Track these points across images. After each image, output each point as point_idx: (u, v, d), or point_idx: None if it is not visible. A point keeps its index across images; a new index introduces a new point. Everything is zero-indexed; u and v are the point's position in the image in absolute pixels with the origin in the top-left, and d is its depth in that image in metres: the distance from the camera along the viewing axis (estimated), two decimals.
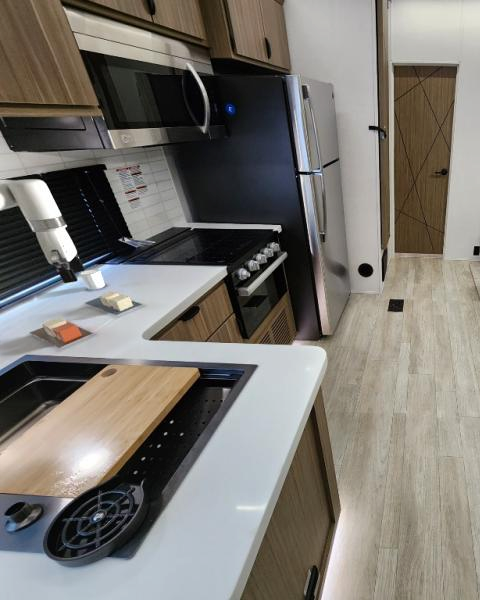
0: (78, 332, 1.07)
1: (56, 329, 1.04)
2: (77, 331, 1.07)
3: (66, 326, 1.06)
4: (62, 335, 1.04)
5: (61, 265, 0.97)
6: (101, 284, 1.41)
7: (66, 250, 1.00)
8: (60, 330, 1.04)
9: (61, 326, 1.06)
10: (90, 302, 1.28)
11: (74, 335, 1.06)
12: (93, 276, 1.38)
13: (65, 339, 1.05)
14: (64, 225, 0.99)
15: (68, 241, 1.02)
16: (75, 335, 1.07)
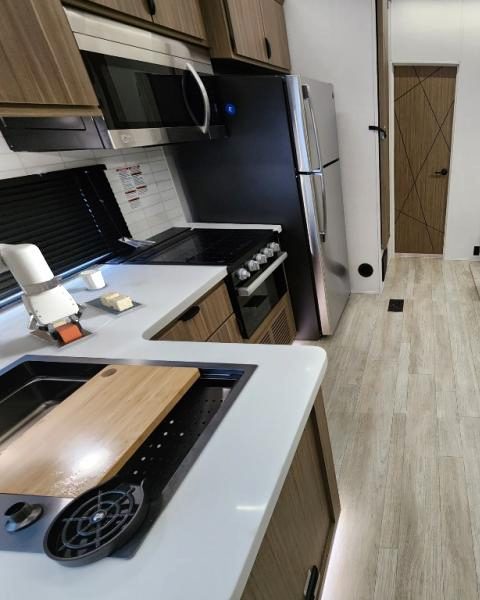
0: (78, 332, 1.07)
1: (56, 329, 1.04)
2: (77, 331, 1.07)
3: (66, 326, 1.06)
4: (62, 335, 1.04)
5: (39, 328, 1.00)
6: (101, 284, 1.41)
7: (40, 315, 0.98)
8: (60, 330, 1.04)
9: (61, 326, 1.06)
10: (90, 302, 1.28)
11: (74, 335, 1.06)
12: (93, 276, 1.38)
13: (65, 339, 1.05)
14: (44, 291, 0.97)
15: (54, 304, 1.00)
16: (75, 335, 1.07)
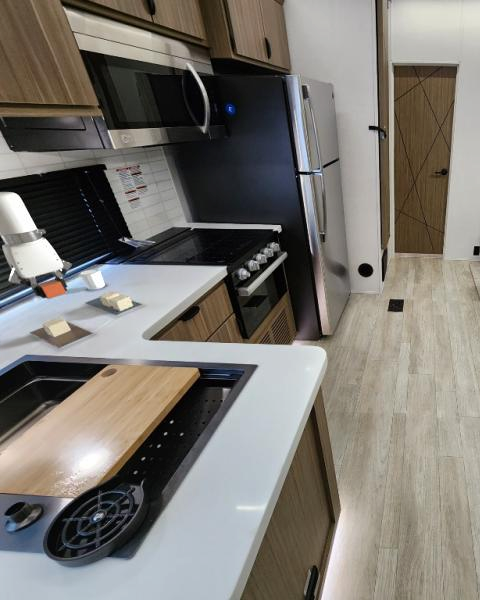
0: (62, 289, 1.04)
1: (39, 285, 1.01)
2: (61, 288, 1.03)
3: (50, 282, 1.02)
4: (45, 291, 1.00)
5: (21, 282, 0.96)
6: (101, 284, 1.41)
7: (22, 267, 0.95)
8: (43, 286, 1.00)
9: (45, 282, 1.02)
10: (90, 302, 1.28)
11: (58, 292, 1.03)
12: (93, 276, 1.38)
13: (48, 296, 1.01)
14: (25, 242, 0.93)
15: (37, 257, 0.97)
16: (59, 292, 1.03)
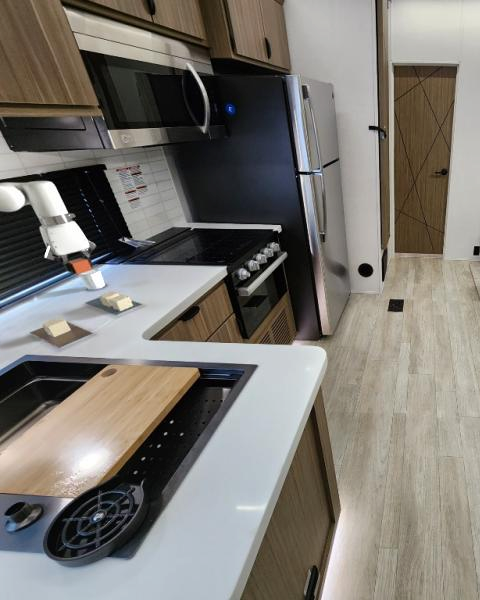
0: (89, 266, 1.20)
1: None
2: (88, 265, 1.19)
3: (78, 260, 1.18)
4: (75, 267, 1.16)
5: (54, 258, 1.12)
6: (101, 284, 1.41)
7: (56, 245, 1.11)
8: (73, 262, 1.16)
9: (74, 260, 1.18)
10: (90, 302, 1.28)
11: (85, 269, 1.19)
12: (93, 276, 1.38)
13: (77, 271, 1.17)
14: (59, 224, 1.09)
15: (68, 237, 1.13)
16: (86, 269, 1.19)
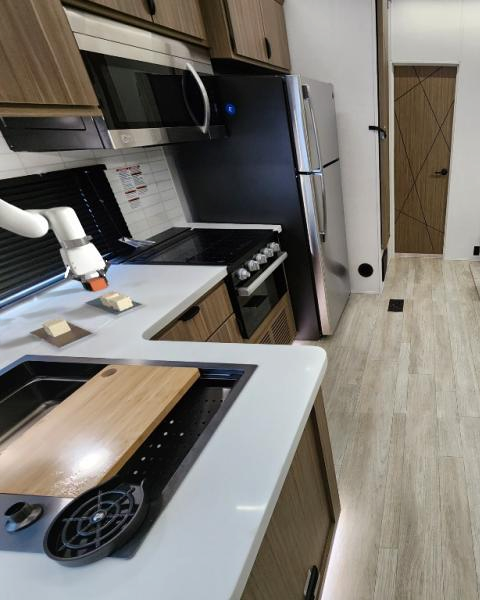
0: (105, 284, 1.28)
1: (87, 281, 1.25)
2: (104, 283, 1.27)
3: (95, 279, 1.26)
4: (92, 285, 1.24)
5: (74, 278, 1.20)
6: None
7: (75, 266, 1.19)
8: (90, 281, 1.24)
9: (91, 279, 1.26)
10: (90, 302, 1.28)
11: (102, 287, 1.27)
12: (93, 276, 1.38)
13: (94, 289, 1.25)
14: (78, 246, 1.17)
15: (86, 258, 1.21)
16: (102, 287, 1.27)
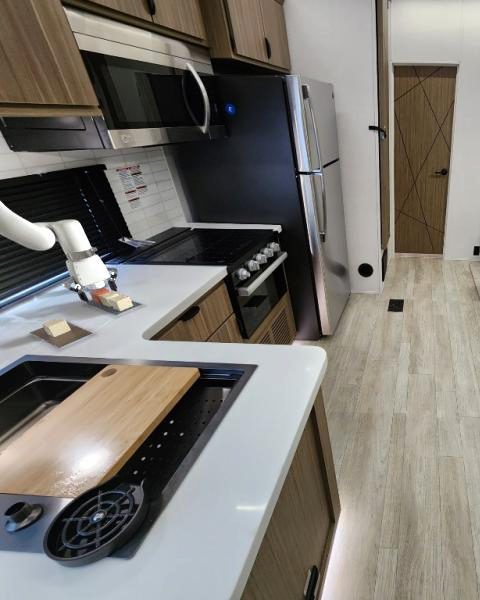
0: None
1: (93, 292, 1.27)
2: None
3: (100, 290, 1.29)
4: (98, 297, 1.27)
5: (70, 289, 1.20)
6: (101, 284, 1.41)
7: (80, 278, 1.21)
8: (96, 293, 1.26)
9: (96, 290, 1.28)
10: (90, 302, 1.28)
11: None
12: None
13: (100, 300, 1.27)
14: (84, 258, 1.19)
15: (91, 270, 1.23)
16: None
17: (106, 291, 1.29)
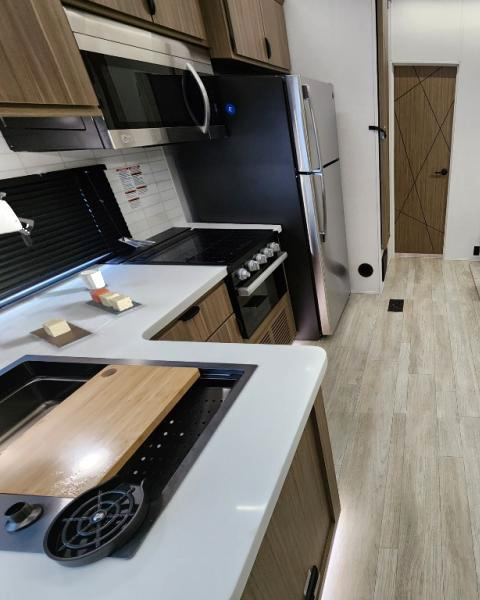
0: None
1: (93, 292, 1.27)
2: None
3: (100, 290, 1.29)
4: (98, 297, 1.27)
5: None
6: (101, 284, 1.41)
7: None
8: (96, 293, 1.26)
9: (96, 290, 1.28)
10: (90, 302, 1.28)
11: None
12: (93, 276, 1.38)
13: (100, 300, 1.27)
14: None
15: None
16: None
17: (106, 291, 1.29)
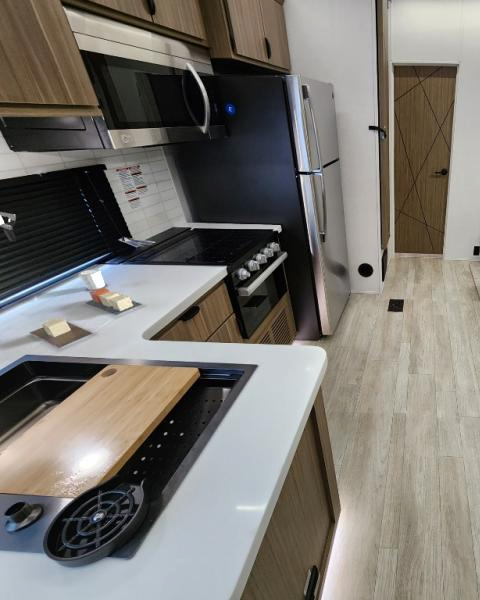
0: None
1: (93, 292, 1.27)
2: None
3: (100, 290, 1.29)
4: (98, 297, 1.27)
5: None
6: (101, 284, 1.41)
7: None
8: (96, 293, 1.26)
9: (96, 290, 1.28)
10: (90, 302, 1.28)
11: None
12: (93, 276, 1.38)
13: (100, 300, 1.27)
14: None
15: None
16: None
17: (106, 291, 1.29)
